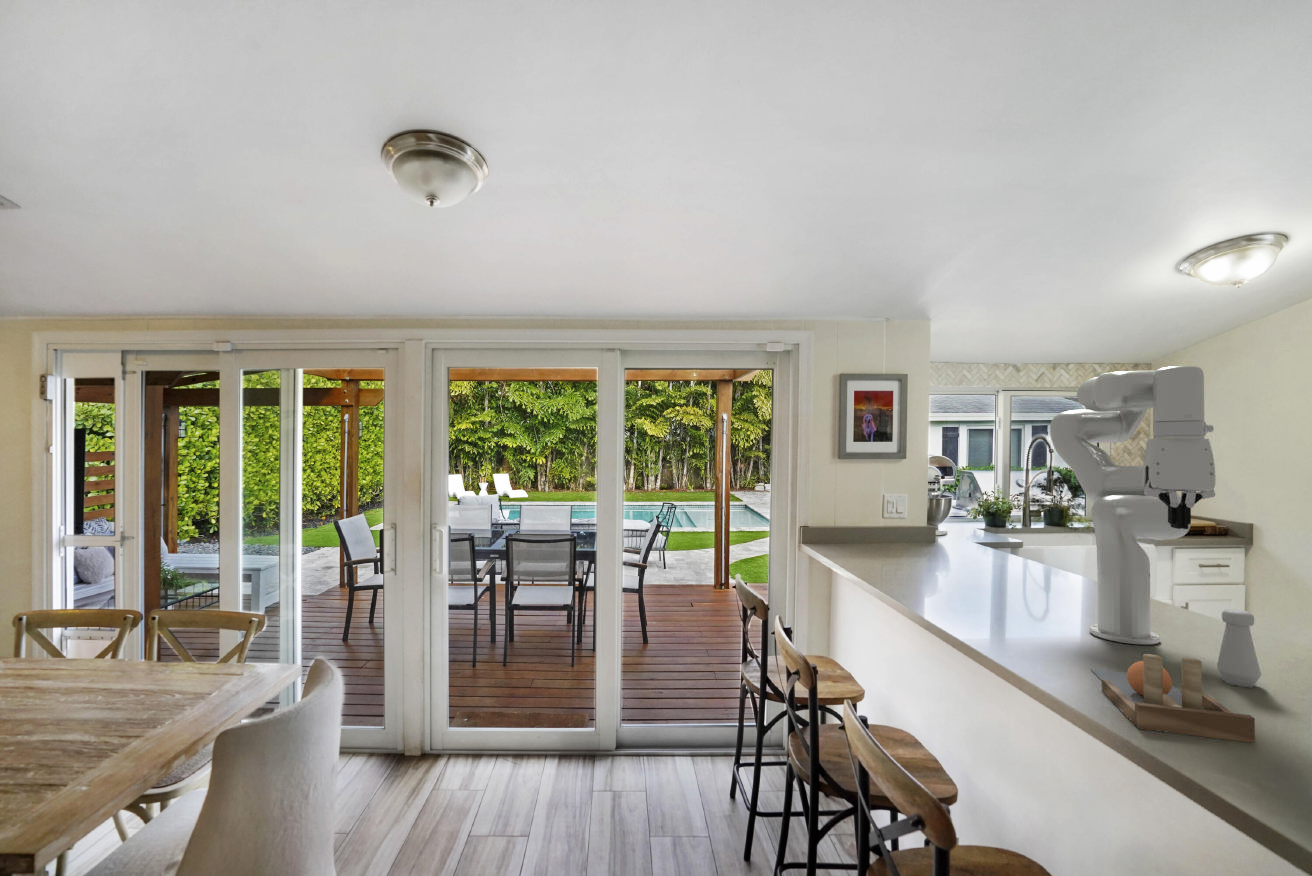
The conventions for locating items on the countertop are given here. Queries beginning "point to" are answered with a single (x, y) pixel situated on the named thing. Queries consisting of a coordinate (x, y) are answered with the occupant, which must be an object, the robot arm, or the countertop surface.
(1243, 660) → the salt shaker
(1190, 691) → the pin back left
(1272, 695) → the countertop surface
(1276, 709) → the countertop surface
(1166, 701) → the pin front
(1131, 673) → the ball
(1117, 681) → the plate
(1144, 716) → the lane rail
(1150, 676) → the pin back right
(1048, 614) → the countertop surface
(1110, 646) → the countertop surface
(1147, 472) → the robot arm
